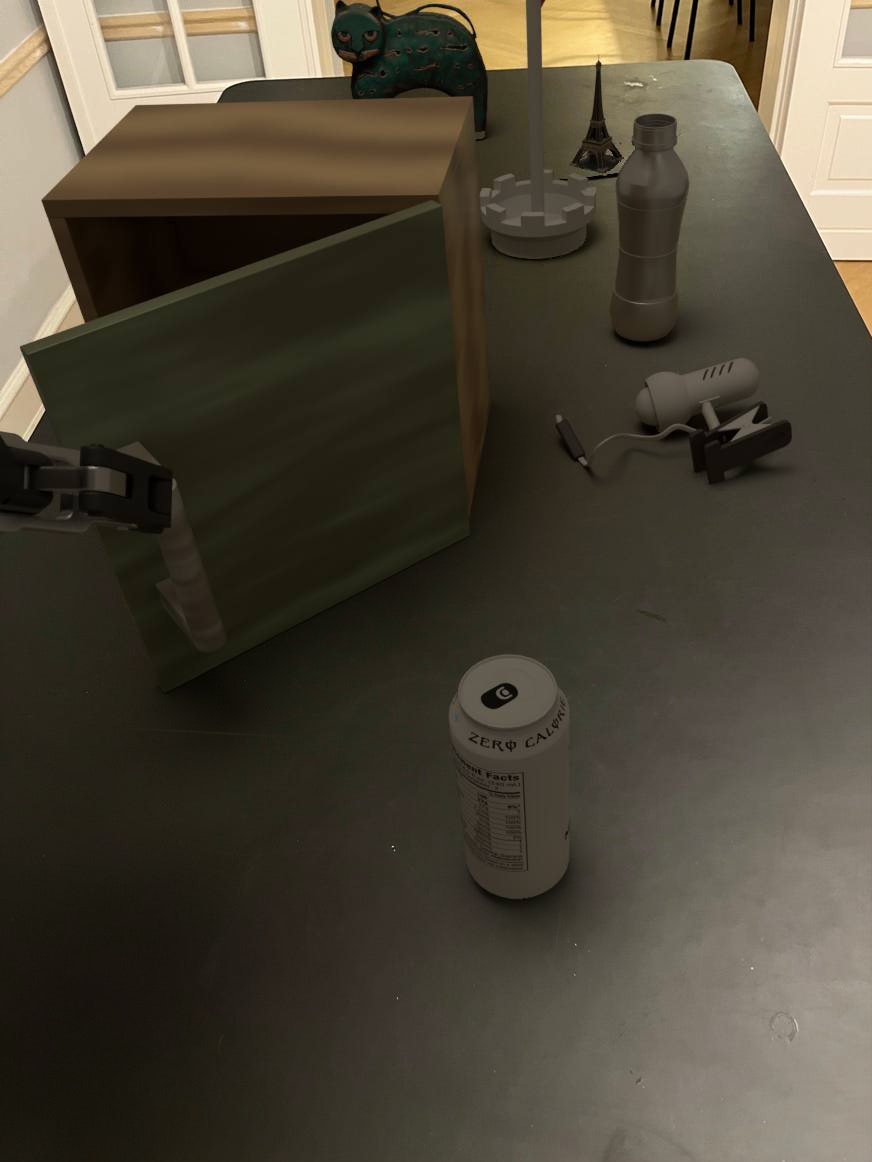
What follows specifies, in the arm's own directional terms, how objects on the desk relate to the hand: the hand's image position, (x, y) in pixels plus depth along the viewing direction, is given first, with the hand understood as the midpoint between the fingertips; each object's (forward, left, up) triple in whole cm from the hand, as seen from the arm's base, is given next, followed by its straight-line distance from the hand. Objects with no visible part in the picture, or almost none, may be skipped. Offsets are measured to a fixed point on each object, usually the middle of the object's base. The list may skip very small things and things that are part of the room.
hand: (72, 509), depth 50 cm
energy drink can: (+21, -3, -23) cm, 31 cm away
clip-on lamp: (+30, +39, -23) cm, 54 cm away
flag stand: (+16, +81, -23) cm, 85 cm away
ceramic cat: (-3, +113, -23) cm, 115 cm away
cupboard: (+1, +37, -23) cm, 43 cm away
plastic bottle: (+28, +59, -23) cm, 69 cm away
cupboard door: (+7, +16, -23) cm, 28 cm away
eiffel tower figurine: (+22, +103, -23) cm, 107 cm away
